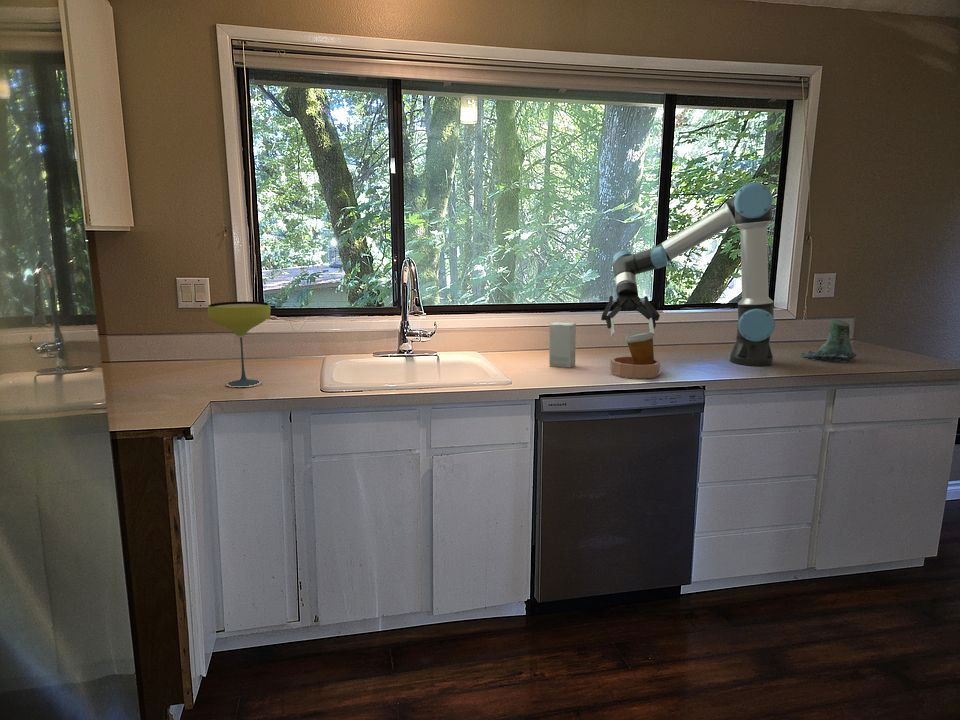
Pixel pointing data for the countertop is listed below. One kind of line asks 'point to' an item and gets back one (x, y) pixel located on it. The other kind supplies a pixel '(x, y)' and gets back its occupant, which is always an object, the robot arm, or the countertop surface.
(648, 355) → the disposable coffee cup
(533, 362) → the countertop surface
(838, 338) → the tree stump
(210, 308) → the cocktail glass
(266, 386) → the countertop surface
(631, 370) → the terracotta dish
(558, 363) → the skincare box
